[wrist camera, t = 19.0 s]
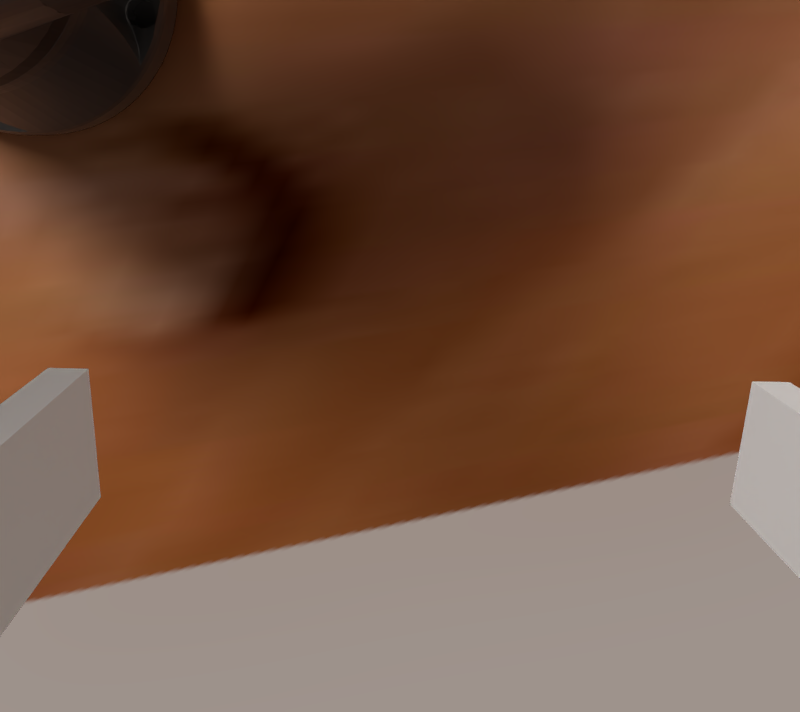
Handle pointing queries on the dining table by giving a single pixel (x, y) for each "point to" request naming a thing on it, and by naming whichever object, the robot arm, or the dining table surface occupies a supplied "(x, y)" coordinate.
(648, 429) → the dining table surface
